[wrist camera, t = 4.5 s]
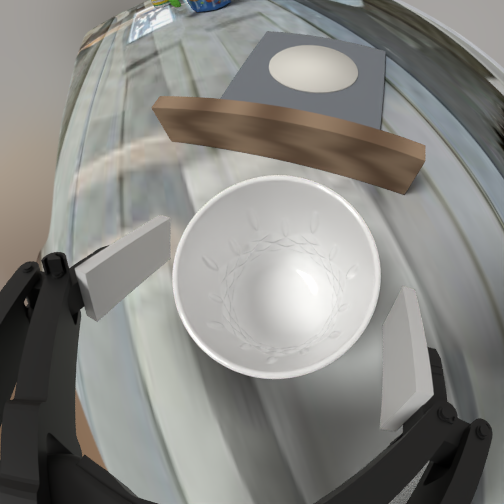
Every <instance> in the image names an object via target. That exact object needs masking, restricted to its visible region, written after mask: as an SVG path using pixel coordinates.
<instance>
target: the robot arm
mask: <svg viewBox="0 0 504 504" xmlns="http://www.w3.org/2000/svg"><path fill="white" fill-rule="evenodd" d="M170 259H171V258H170V218H169V217H165V216H162V215H159V216H157V217H156V218H154V219H152V220H150V221H149V222H147V223H145V224H144V225H142V226H140V227H139V228H137V229H135V230H134V231H132V232H130V233H129V234H127V235H125V236H124V237H122V238H120V239H119V240H117V241H116V242H114V243H112V244H111V245H108V246H105V247H102V248H100V249H98V250H96V251H95V252H93V254H90V255H89V256H87V257H86V258H84V259H83V260H81V261H79V262H78V263H76V264H75V265H73V266H72V267H71V268H69V267H68V263H67V258H66V255H65V254H64V253H61V252H54V253H50V254H48V255H46V256H45V257H44V258H43V259H42V260H41V261H42V264H43V268H44V272H42V271H40V268H39V264H38V263H37V262H26V263H25V264H23V265H21V266H20V267H19V268H18V270H17V271H16V272H15V273H14V274H13V276H12V277H11V278H10V280H9V281H8V282H7V283H6V285H5V286H4V287H3V289H2V290H1V292H0V426H1V424H2V433H1V460H0V504H158V503H154V502H151V501H147V500H144V499H141V498H138V497H137V496H136V495H135V494H134V493H133V492H132V491H131V490H130V489H129V488H128V487H127V486H125V485H124V484H123V483H121V482H120V481H119V480H118V479H116V478H115V477H114V476H113V475H111V474H110V473H109V472H108V471H106V470H105V469H103V468H102V467H101V466H99V465H98V464H96V463H95V462H94V461H92V460H91V459H90V458H88V457H87V456H86V455H84V456H83V457H82V452H81V448H80V445H79V442H78V440H77V436H76V428H75V426H76V425H75V382H76V362H77V349H78V338H79V329H80V321H81V312H80V309H82V308H83V307H85V310H86V314H87V316H89V317H90V318H92V319H94V320H95V321H97V322H98V321H99V320H100V319H101V318H102V317H103V316H104V315H106V314H107V313H108V312H109V311H110V310H111V309H112V308H113V307H115V306H116V305H117V304H118V303H119V302H120V301H121V300H123V299H124V298H125V297H126V296H127V295H128V294H129V293H131V292H132V291H133V290H134V289H135V288H136V287H138V286H139V285H140V284H141V283H142V282H143V281H145V280H146V279H147V278H148V277H149V276H150V275H152V274H153V273H154V272H155V271H156V270H158V269H159V268H160V267H161V266H162V265H164V264H165V263H166V262H167V261H168V260H170ZM25 299H27V301H28V305H27V306H25V305H24V301H25ZM382 332H383V381H382V404H381V418H380V429H383V430H389V431H395V432H396V431H397V430H398V429H399V428H400V427H401V426H402V425H403V433H402V434H401V435H400V436H399V437H397V438H396V439H395V440H394V441H393V442H391V443H390V445H389V446H388V447H387V448H386V449H385V450H384V451H383V452H382V453H380V454H379V455H378V456H377V457H376V458H375V459H374V460H372V461H371V462H370V463H369V464H368V465H366V466H365V467H364V468H363V469H362V470H360V471H359V472H358V473H357V474H355V475H354V476H353V477H351V478H350V479H349V480H347V481H346V482H345V483H343V484H342V485H341V486H339V487H338V488H336V489H335V490H334V491H332V492H331V493H329V494H328V495H326V496H325V497H323V498H322V499H320V500H319V501H317V502H315V503H314V504H388V503H389V502H390V501H391V500H392V499H394V498H395V497H396V496H397V495H398V494H399V493H400V492H401V491H402V490H403V489H404V488H405V487H406V485H407V484H408V483H409V482H410V481H411V480H412V479H413V478H414V477H415V476H416V475H417V474H418V472H419V471H420V470H421V469H422V468H423V467H424V466H425V464H426V463H427V462H428V461H430V462H429V464H428V466H427V468H426V470H425V472H424V474H423V475H422V477H421V479H420V481H419V483H418V485H417V486H416V488H415V490H414V492H413V493H412V495H411V497H410V498H409V500H408V501H407V503H406V504H471V501H472V499H473V496H474V494H475V491H476V489H477V486H478V483H479V480H480V478H481V475H482V472H483V469H484V465H485V462H486V459H487V455H488V452H489V448H490V444H491V440H492V429H491V427H490V425H489V423H488V422H487V421H485V420H483V419H476V420H475V421H473V422H472V423H471V424H469V423H467V422H465V421H462V420H460V419H459V418H457V412H456V409H455V408H454V407H453V405H451V404H450V403H449V402H447V395H446V388H445V381H444V376H443V369H442V363H441V358H440V356H439V354H438V353H437V351H436V349H433V348H429V347H427V342H426V337H425V332H424V327H423V322H422V317H421V312H420V308H419V304H418V299H417V295H416V291H415V289H412V288H408V287H405V286H402V288H401V290H400V292H399V294H398V296H397V298H396V300H395V302H394V304H393V306H392V308H391V310H390V312H389V314H388V316H387V318H386V320H385V321H384V323H383V325H382ZM16 382H17V384H16ZM15 385H16V391H15V397H14V399H13V400H10V398H11V395H12V393H13V390H14V387H15Z"/></svg>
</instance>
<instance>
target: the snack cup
mask: <svg viewBox="0 0 504 504" xmlns="http://www.w3.org/2000/svg"><path fill="white" fill-rule="evenodd" d="M169 2H170V3H171V5H173V6H174V7H180V6H181V3H180V2H179V1H178V0H169ZM187 2H188V3H189V5H190V6H191V8H192V9H193V10H194V11H196V12H202V11H210V10H216V9H218V8H221V7H223V6H225V5H227V4H228V3H231V0H187Z"/></svg>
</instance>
